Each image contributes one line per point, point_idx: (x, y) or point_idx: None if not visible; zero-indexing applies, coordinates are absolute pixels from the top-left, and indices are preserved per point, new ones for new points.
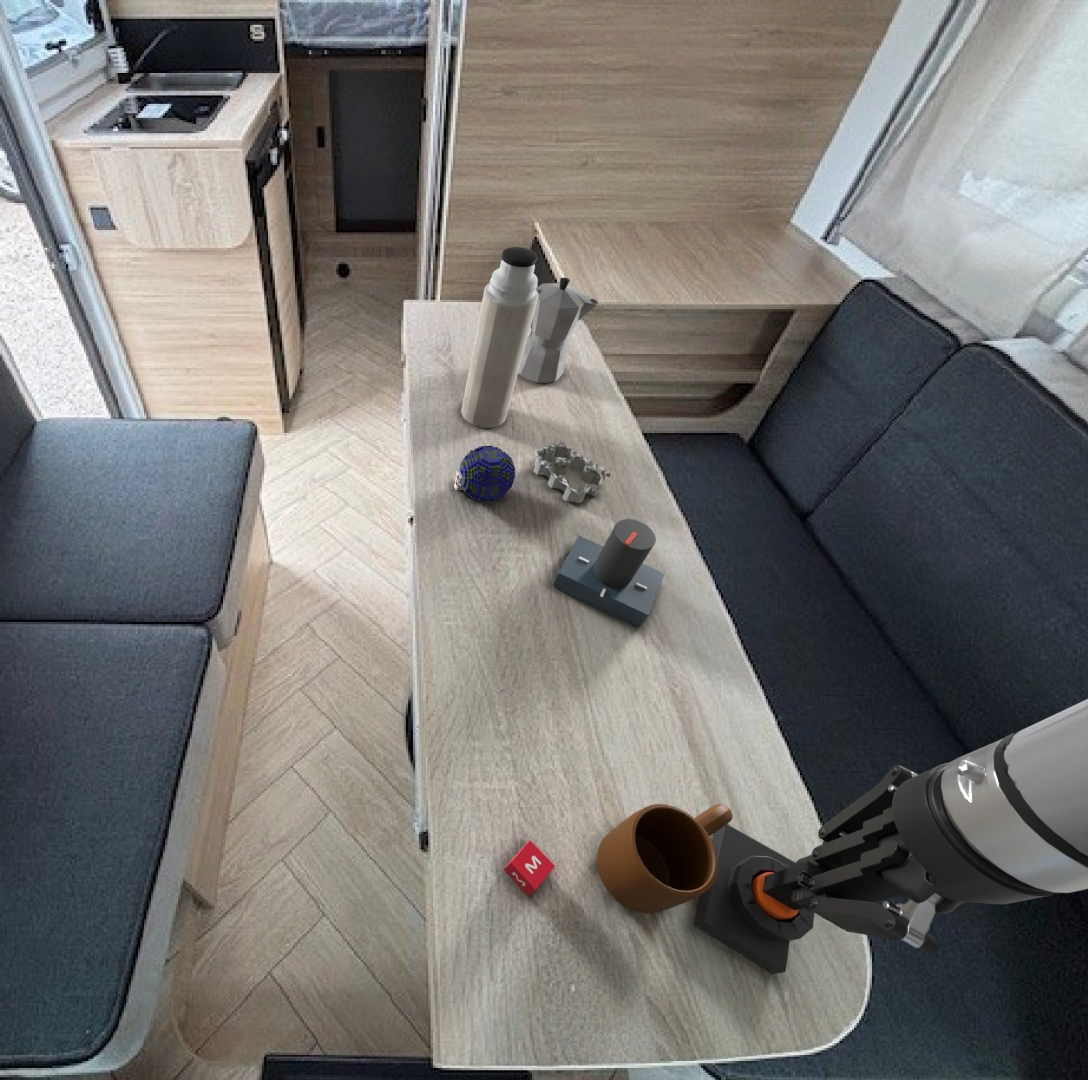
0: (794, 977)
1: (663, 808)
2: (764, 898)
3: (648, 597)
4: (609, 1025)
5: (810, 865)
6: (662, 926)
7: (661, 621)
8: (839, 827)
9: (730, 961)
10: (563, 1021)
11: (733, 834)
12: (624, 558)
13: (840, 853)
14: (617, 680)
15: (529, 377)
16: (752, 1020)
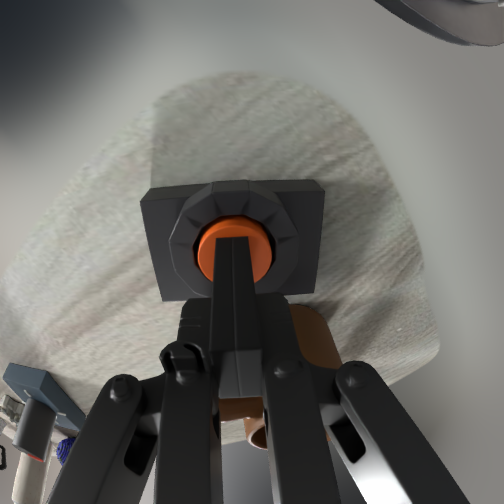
0: (300, 150)
1: (259, 444)
2: (257, 275)
3: (28, 388)
4: (416, 301)
5: (227, 394)
6: (324, 296)
7: (25, 357)
8: (145, 481)
9: (325, 227)
10: (419, 324)
11: (169, 290)
12: (43, 445)
13: (222, 493)
14: (104, 380)
15: (2, 421)
16: (375, 193)
